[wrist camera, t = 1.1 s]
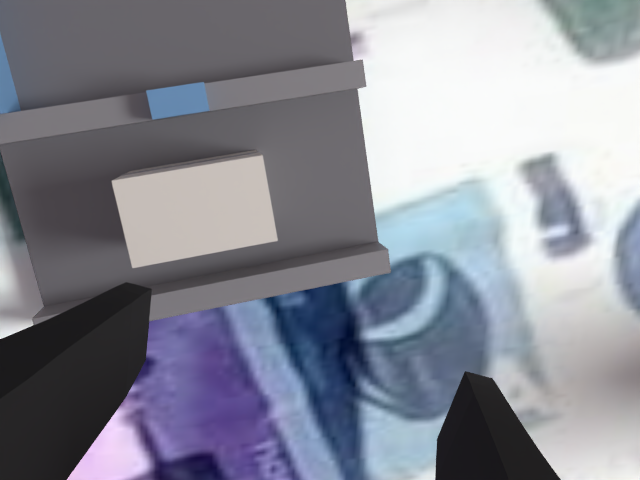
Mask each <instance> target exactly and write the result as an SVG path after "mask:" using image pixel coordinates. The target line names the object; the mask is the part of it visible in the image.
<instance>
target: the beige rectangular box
mask: <svg viewBox="0 0 640 480" xmlns="http://www.w3.org/2000/svg"><path fill="white" fill-rule="evenodd" d="M112 185H113V190H114V194H115V198H116V202H117V206H118V210H119V215H120V219H121V223H122V227H123V231H124V235H125V240H126V244H127V248H128V252H129V256H130V260H131V265H132V268H137V267H142V266H147V265H153V264H158V263H163V262H168V261H174V260H179V259H184V258H190V257H195V256H200V255H205V254H211V253H216V252H221V251H227V250H232V249H237V248H242V247H248V246H253V245H258V244H264V243H269V242H274V241H278V238H277V233H276V227H275V221H274V216H273V210H272V205H271V199H270V193H269V188H268V182H267V176H266V171H265V165H264V160H263V155H262V154H261V153H260V152H259V151H257V150H252V151H246V152H240V153H234V154H228V155H222V156H216V157H210V158H204V159H198V160H192V161H186V162H181V163H175V164H169V165H163V166H157V167H151V168H145V169H139V170H133V171H129V172H128V173H126V174H122V175H120V177H118V178H116V179H114V180H112Z"/></svg>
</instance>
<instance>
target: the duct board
mask: <svg viewBox="0 0 640 480" xmlns="http://www.w3.org/2000/svg"><path fill="white" fill-rule="evenodd" d="M363 87H366V81H365V73H364V66H363V60H357V61H353V53H352V46H351V39H350V32H349V24H348V17H347V10H346V2H345V0H0V151H1V155H2V158H3V162H4V166H5V169H6V173H7V176H8V180H9V183H10V187H11V190H12V194H13V198H14V201H15V205H16V208H17V212H18V215H19V219H20V222H21V226H22V230H23V233H24V237H25V240H26V244H27V247H28V251H29V254H30V258H31V261H32V265H33V269H34V272H35V276H36V279H37V283H38V286H39V290H40V293H41V297H42V301H43V304H44V307H43V308H42V309H41V310H40V311H39V312H38V313H37V314H36V315H35V316H34V317H33V319H32V321H33V324H34V325H36V324H38V323H41V322H43V321H45V320H48V319H50V318H52V317H54V316H56V315H58V314H61V313H63V312H65V311H67V310H69V309H71V308H73V307H75V306H77V305H79V304H82V303H84V302H86V301H88V300H90V299H92V298H94V297H96V296H98V295H100V294H102V293H104V292H106V291H108V290H110V289H112V288H114V287H116V286H118V285H121V284H123V283H125V282H128V283H132V284H136V285H139V286H143V287H147V288H151V289H152V294H151V305H150V316H149V321H153V320H158V319H162V318H167V317H172V316H177V315H182V314H187V313H192V312H197V311H202V310H207V309H212V308H217V307H222V306H227V305H232V304H237V303H242V302H247V301H252V300H257V299H262V298H267V297H272V296H277V295H282V294H287V293H291V292H296V291H301V290H306V289H311V288H316V287H321V286H326V285H331V284H336V283H341V282H346V281H351V280H356V279H361V278H366V277H371V276H376V275H381V274H386V273H391V269H390V261H389V254H388V249H387V248H386V247H384V246H383V245H382V244H380V243H379V242H378V237H377V229H376V222H375V215H374V207H373V200H372V193H371V185H370V178H369V171H368V163H367V156H366V149H365V141H364V134H363V127H362V119H361V112H360V105H359V97H358V90H357V89H359V88H363ZM252 150H257V151H259V152H260V153H261V154H262V155H263V160H264V165H265V171H266V176H267V182H268V188H269V193H270V199H271V205H272V210H273V216H274V221H275V227H276V233H277V238H278V241H274V242H269V243H264V244H258V245H253V246H248V247H242V248H237V249H232V250H227V251H221V252H216V253H211V254H205V255H200V256H195V257H190V258H184V259H179V260H174V261H168V262H163V263H158V264H153V265H147V266H142V267H137V268H132V265H131V260H130V256H129V252H128V248H127V244H126V240H125V235H124V231H123V227H122V223H121V219H120V215H119V210H118V206H117V202H116V198H115V194H114V190H113V185H112V180H114V179H116V178H118V177H120V175H122V174H126V173H128V172H129V171H133V170H139V169H145V168H151V167H157V166H163V165H169V164H175V163H181V162H186V161H192V160H198V159H204V158H210V157H216V156H222V155H228V154H234V153H240V152H246V151H252Z"/></svg>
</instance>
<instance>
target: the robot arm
mask: <svg viewBox="0 0 640 480" xmlns="http://www.w3.org/2000/svg"><path fill="white" fill-rule="evenodd" d="M151 294H152V289H151V288H147V287H143V286H139V285H136V284H132V283H128V282H125V283H123V284H121V285H118V286H116V287H114V288H112V289H110V290H108V291H106V292H104V293H102V294H100V295H98V296H96V297H94V298H92V299H90V300H88V301H86V302H84V303H82V304H79V305H77V306H75V307H73V308H71V309H69V310H67V311H65V312H63V313H61V314H58V315H56V316H54V317H52V318H50V319H48V320H45V321H43V322H41V323H38V324H36V325H33V326H31V327H29V328H26V329H24V330H22V331H19V332H17V333H15V334H12V335H10V336H7V337H5V338H2V339H0V480H67V478H68V477H69V476H70V474H71V473H72V471H73V470H74V469H75V467H76V466H77V464H78V463H79V462H80V460H81V459H82V458H83V456H84V455H85V453H86V452H87V451H88V449H89V448H90V447H91V445H92V444H93V442H94V441H95V440H96V438H97V437H98V435H99V434H100V433H101V431H102V430H103V429H104V427H105V426H106V424H107V423H108V422H109V420H110V419H111V417H112V416H113V415H114V413H115V412H116V410H117V409H118V408H119V406H120V405H121V403H122V402H123V400H124V399H125V398H126V396H127V394H128V392H129V390H130V389H131V387H132V385H133V383H134V381H135V379H136V378H137V376H138V374H139V372H140V370H141V368H142V366H143V364H144V362H145V360H146V350H147V339H148V328H149V316H150V305H151ZM435 480H561V479H560V478H559V477H558V476H557V474H556V473H555V472H554V470H553V469H552V468H551V466H550V465H549V463H548V462H547V461H546V459H545V458H544V456H543V455H542V454H541V452H540V451H539V449H538V448H537V446H536V445H535V443H534V442H533V440H532V439H531V437H530V436H529V434H528V433H527V431H526V430H525V428H524V427H523V425H522V424H521V422H520V421H519V419H518V418H517V416H516V414H515V413H514V411H513V410H512V408H511V407H510V405H509V403H508V402H507V400H506V399H505V397H504V396H503V394H502V392H501V391H500V389H499V388H498V386H497V385H496V383H495V382H494V380H493V379H492V378H489V377H485V376H481V375H477V374H474V373H470V372H466V371H465V373H464V375H463V378H462V380H461V382H460V385H459V387H458V390H457V392H456V394H455V397H454V399H453V402H452V404H451V407H450V409H449V411H448V414H447V416H446V419H445V421H444V424H443V426H442V428H441V431H440V433H439V436H438V438H437V454H436V479H435Z"/></svg>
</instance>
